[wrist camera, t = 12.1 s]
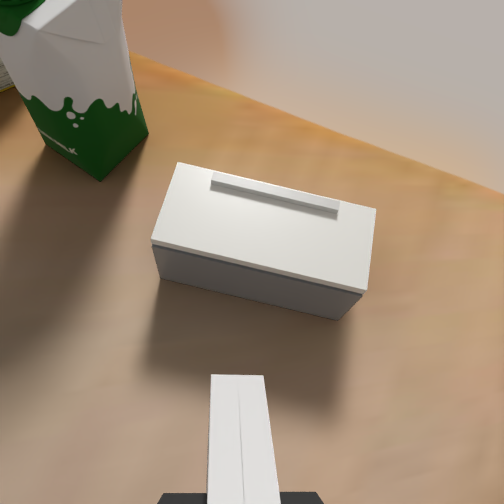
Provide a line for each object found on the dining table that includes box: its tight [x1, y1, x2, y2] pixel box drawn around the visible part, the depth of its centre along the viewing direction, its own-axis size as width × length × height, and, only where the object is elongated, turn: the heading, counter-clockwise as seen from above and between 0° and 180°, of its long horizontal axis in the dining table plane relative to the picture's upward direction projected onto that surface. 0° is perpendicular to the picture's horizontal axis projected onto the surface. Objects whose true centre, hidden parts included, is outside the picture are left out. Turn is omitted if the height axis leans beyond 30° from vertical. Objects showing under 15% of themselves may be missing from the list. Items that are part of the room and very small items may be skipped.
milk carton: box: [0, 0, 149, 181], centre depth 37 cm, size 9×9×20 cm
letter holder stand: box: [152, 244, 362, 321], centre depth 39 cm, size 16×8×7 cm, turn 78°
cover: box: [151, 162, 376, 294], centre depth 35 cm, size 16×7×1 cm, turn 77°
